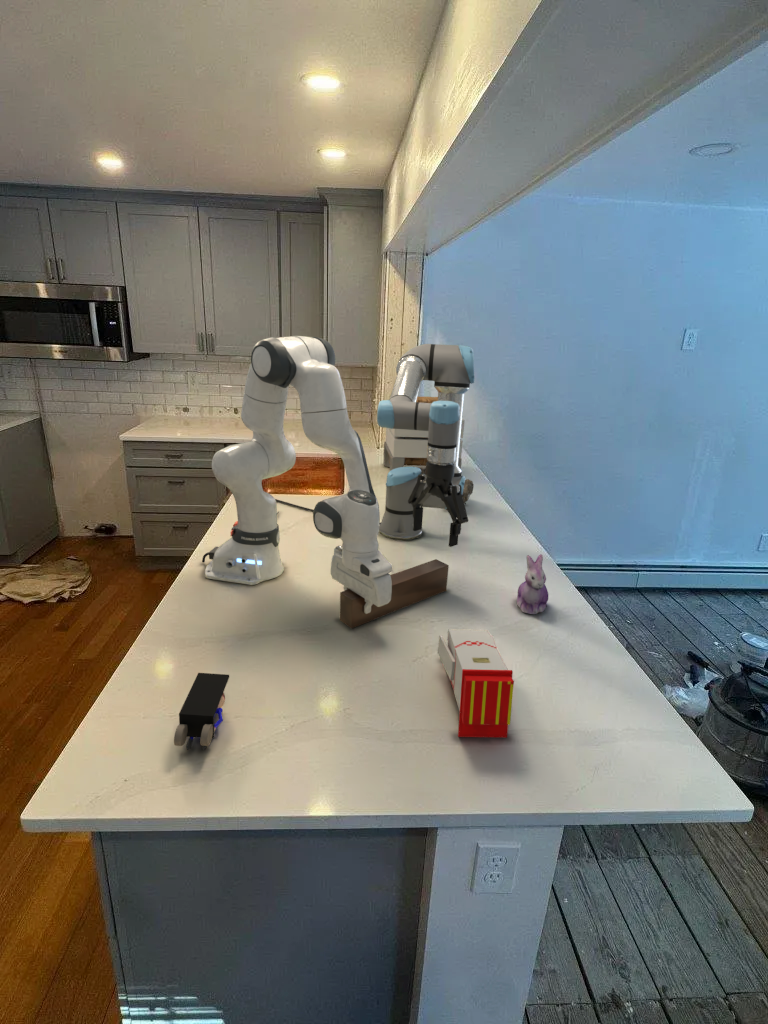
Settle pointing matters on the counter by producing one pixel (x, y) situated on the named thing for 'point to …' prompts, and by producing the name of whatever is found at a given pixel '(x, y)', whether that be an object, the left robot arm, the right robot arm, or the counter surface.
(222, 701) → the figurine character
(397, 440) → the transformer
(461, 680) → the toy
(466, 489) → the fossil
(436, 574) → the plank
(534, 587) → the figurine
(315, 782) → the counter surface
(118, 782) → the counter surface
